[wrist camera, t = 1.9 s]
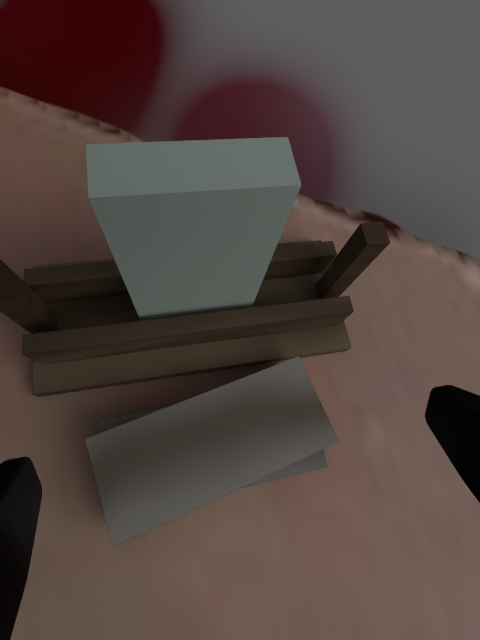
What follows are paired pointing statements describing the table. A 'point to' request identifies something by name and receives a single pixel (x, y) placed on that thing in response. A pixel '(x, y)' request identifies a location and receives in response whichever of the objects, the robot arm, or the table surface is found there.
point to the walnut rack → (182, 318)
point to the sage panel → (192, 218)
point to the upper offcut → (206, 447)
